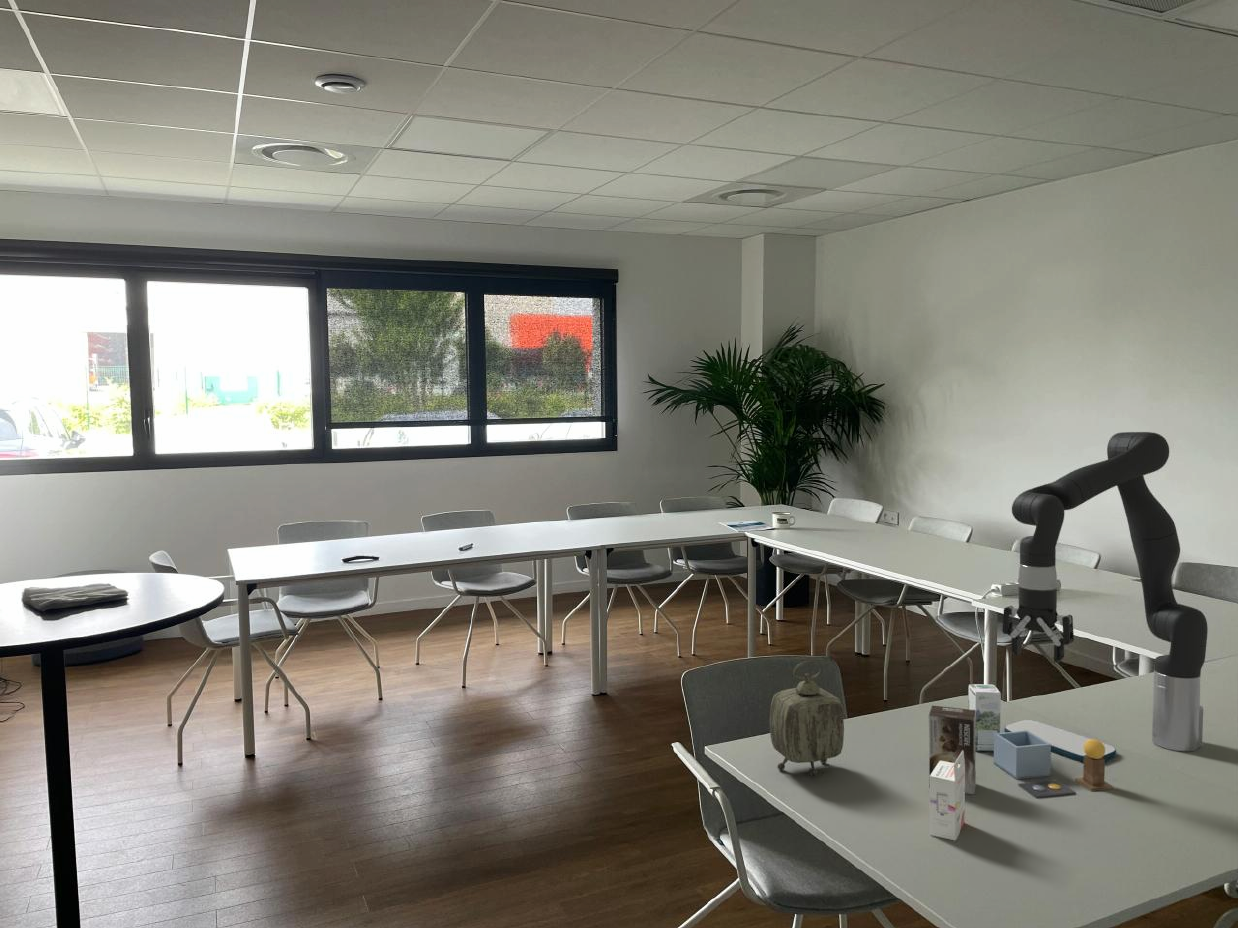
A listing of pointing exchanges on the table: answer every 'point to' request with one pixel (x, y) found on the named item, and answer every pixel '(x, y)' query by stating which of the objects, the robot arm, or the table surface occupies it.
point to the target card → (1046, 788)
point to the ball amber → (1094, 749)
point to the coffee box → (953, 740)
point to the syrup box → (985, 714)
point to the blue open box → (1022, 754)
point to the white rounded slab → (1059, 739)
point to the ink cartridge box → (947, 798)
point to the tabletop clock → (806, 722)
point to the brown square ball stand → (1093, 774)
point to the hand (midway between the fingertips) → (1037, 657)
